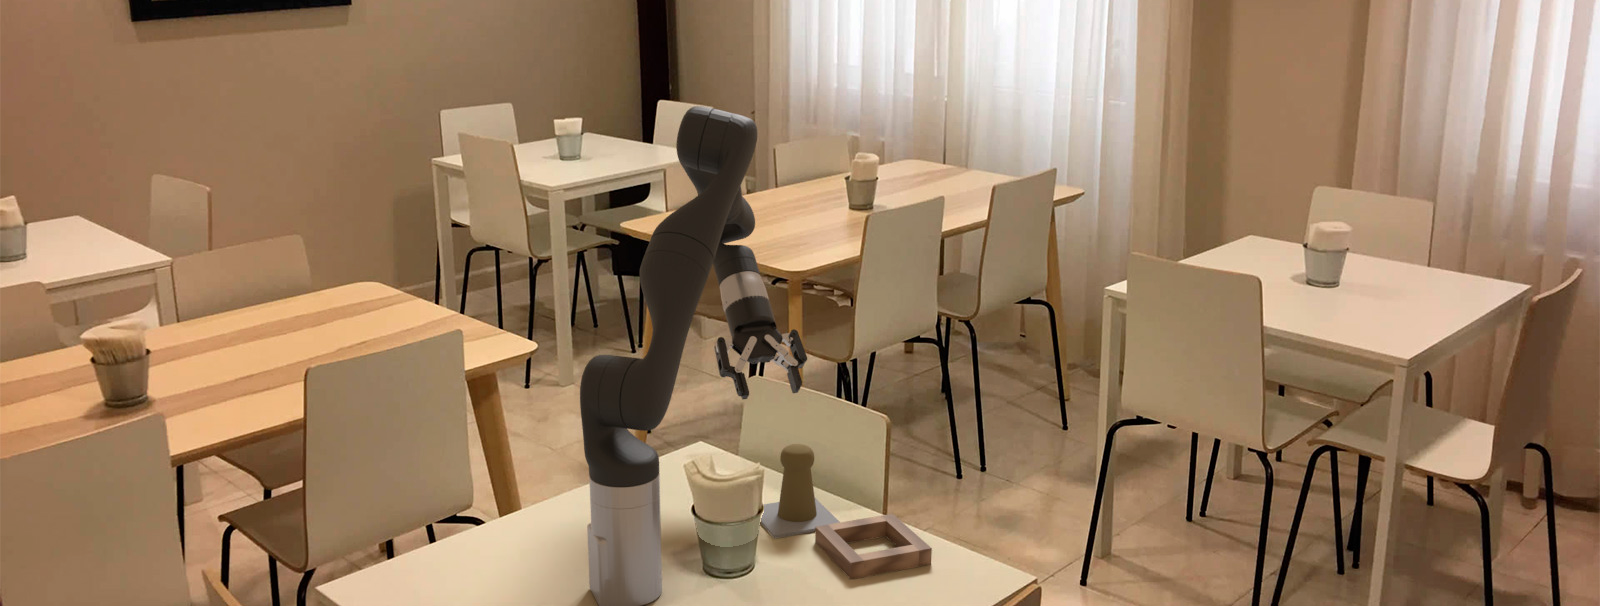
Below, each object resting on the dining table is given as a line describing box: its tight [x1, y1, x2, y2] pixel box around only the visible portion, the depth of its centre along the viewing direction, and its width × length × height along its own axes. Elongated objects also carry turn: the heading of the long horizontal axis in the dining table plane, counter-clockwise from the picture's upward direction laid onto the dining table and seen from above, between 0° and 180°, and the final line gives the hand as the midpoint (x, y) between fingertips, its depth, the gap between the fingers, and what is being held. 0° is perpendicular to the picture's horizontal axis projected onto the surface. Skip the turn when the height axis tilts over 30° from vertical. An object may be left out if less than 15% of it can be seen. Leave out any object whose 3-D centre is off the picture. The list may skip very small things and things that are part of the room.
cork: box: [778, 443, 817, 522], centre depth 198 cm, size 6×6×11 cm
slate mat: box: [760, 497, 841, 539], centre depth 199 cm, size 11×11×1 cm
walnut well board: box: [814, 513, 933, 580], centre depth 187 cm, size 13×13×2 cm
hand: (771, 394), depth 204 cm, fingers open, 8 cm apart
